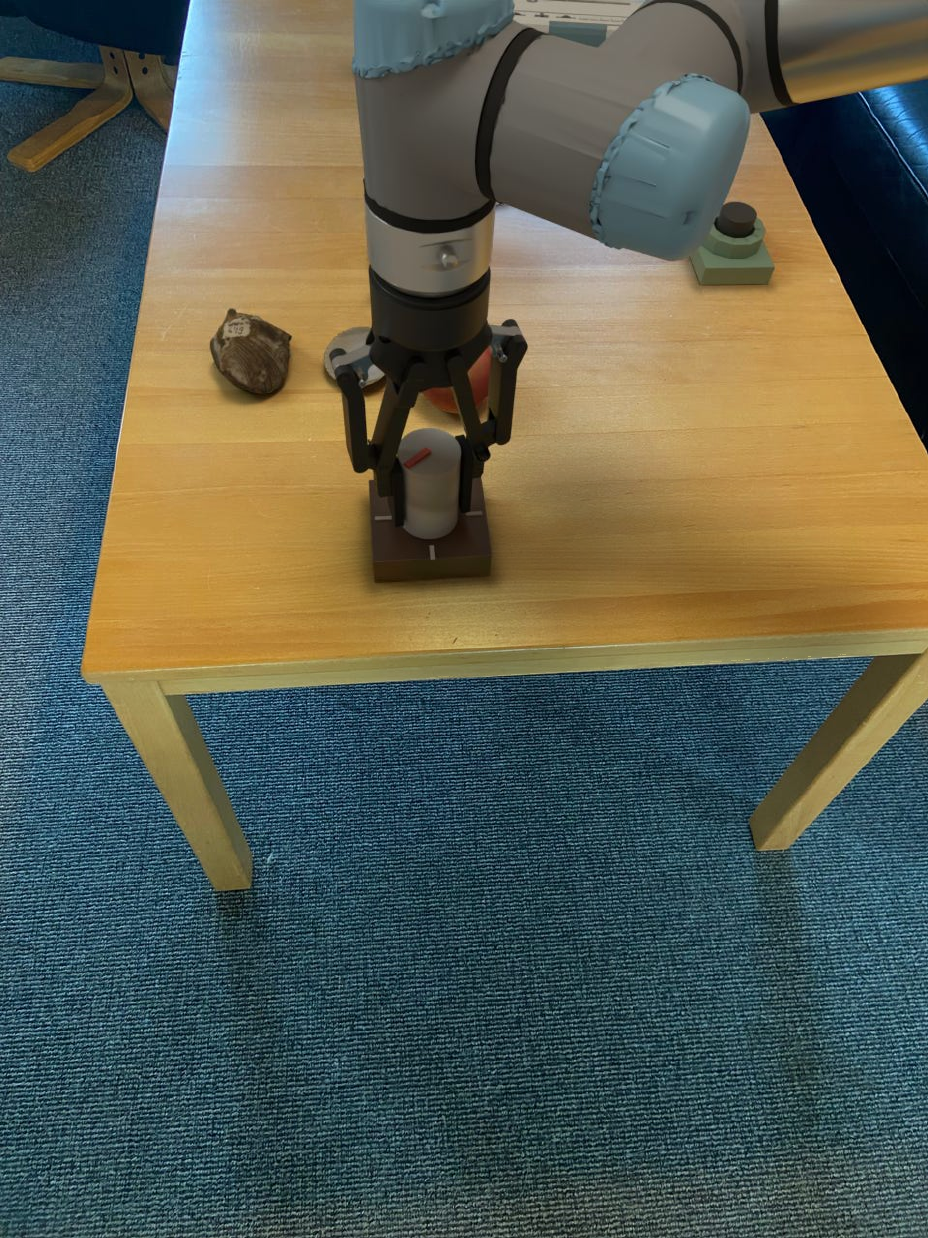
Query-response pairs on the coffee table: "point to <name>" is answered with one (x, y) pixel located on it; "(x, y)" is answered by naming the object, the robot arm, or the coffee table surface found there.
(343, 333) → the seashell
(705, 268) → the button box
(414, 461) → the dial
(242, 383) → the fossilized seashell
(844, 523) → the coffee table surface
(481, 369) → the apple
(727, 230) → the button
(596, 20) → the white and blue toaster
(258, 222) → the coffee table surface
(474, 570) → the control panel
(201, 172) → the coffee table surface
